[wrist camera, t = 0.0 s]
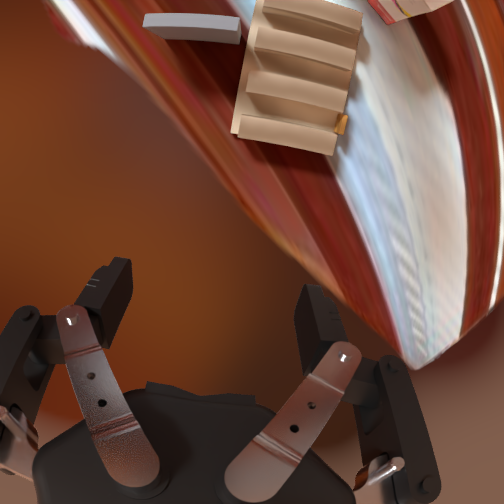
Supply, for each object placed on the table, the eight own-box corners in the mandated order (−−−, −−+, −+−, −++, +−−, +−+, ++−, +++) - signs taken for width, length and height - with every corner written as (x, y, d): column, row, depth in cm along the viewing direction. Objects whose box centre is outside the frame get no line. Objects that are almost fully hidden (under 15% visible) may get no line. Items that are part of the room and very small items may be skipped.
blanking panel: (166, 28, 29) (145, 13, 21) (241, 34, 30) (239, 17, 22) (164, 39, 30) (142, 26, 22) (239, 44, 31) (236, 30, 23)
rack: (257, -5, 27) (258, -14, 23) (359, 21, 28) (370, 15, 25) (230, 132, 37) (229, 136, 34) (331, 151, 38) (339, 157, 35)
